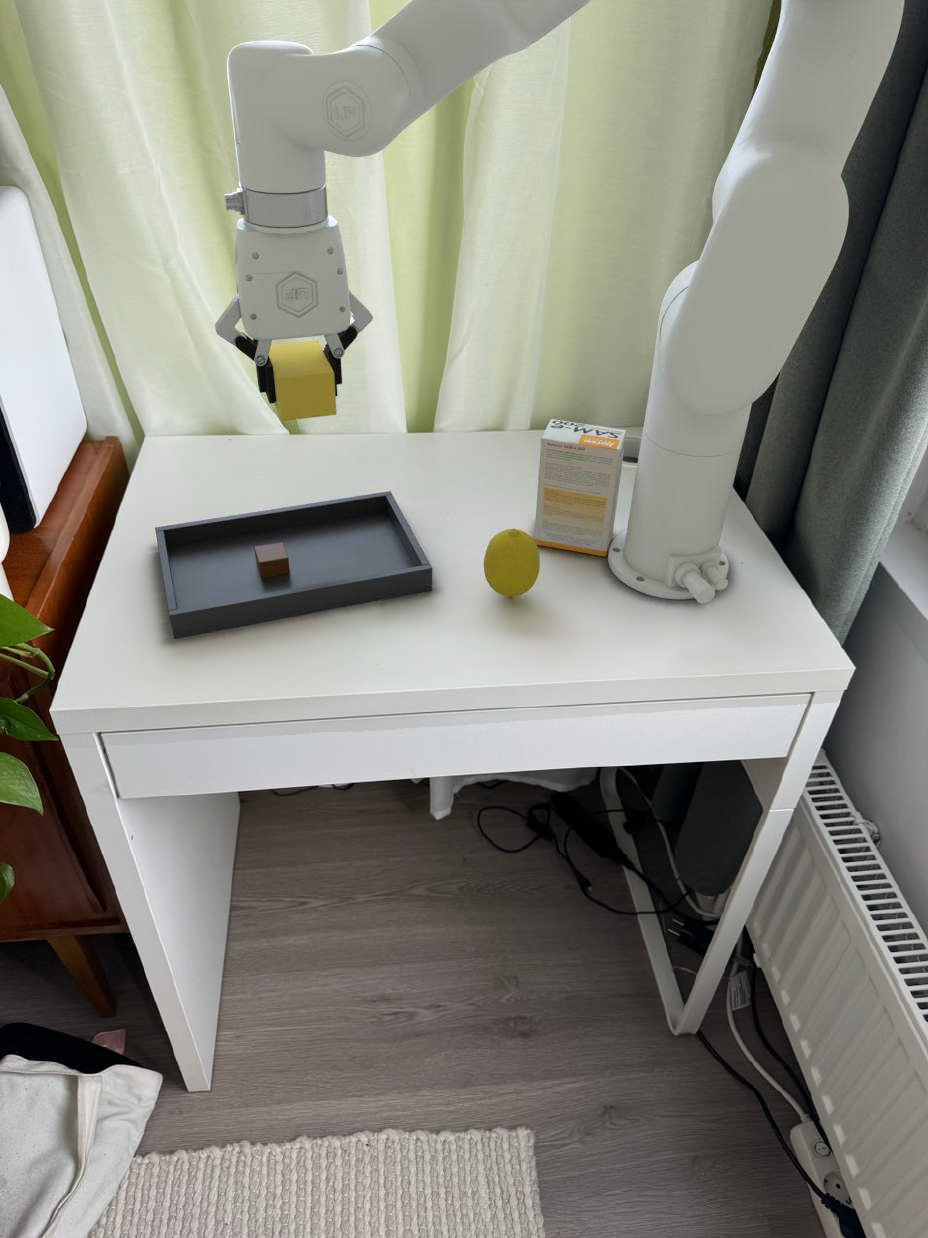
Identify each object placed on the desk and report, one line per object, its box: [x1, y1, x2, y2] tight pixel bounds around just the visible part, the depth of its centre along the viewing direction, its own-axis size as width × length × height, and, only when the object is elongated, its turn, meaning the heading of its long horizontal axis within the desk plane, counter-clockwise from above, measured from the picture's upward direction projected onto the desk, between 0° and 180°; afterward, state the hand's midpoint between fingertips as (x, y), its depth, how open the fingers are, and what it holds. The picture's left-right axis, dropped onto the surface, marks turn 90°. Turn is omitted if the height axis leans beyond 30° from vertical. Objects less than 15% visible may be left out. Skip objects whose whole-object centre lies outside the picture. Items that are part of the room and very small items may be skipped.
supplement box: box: [533, 418, 627, 558], centre depth 98 cm, size 8×5×13 cm, turn 73°
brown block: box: [254, 542, 290, 578], centre depth 95 cm, size 3×3×2 cm
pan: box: [154, 490, 433, 639], centre depth 96 cm, size 16×26×3 cm, turn 109°
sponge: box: [268, 340, 338, 422], centre depth 93 cm, size 8×6×4 cm
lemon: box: [483, 528, 541, 598], centre depth 92 cm, size 6×6×8 cm
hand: (301, 392), depth 94 cm, fingers closed on sponge, 5 cm apart
